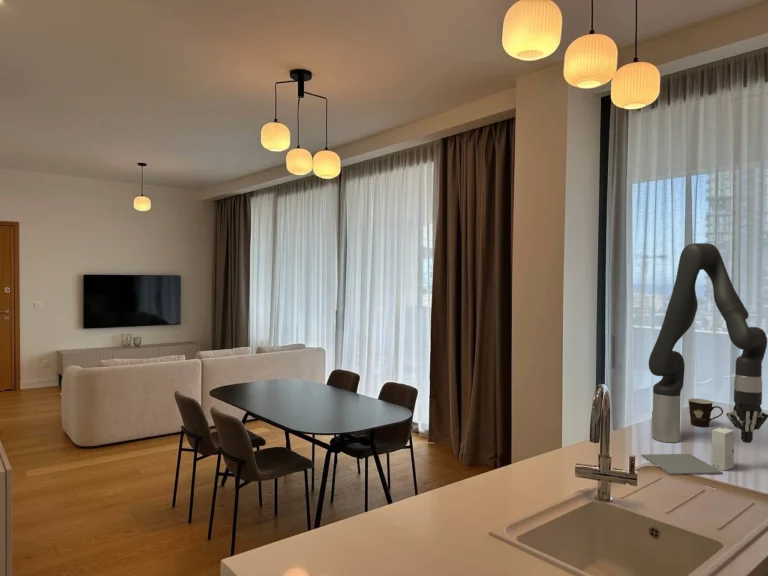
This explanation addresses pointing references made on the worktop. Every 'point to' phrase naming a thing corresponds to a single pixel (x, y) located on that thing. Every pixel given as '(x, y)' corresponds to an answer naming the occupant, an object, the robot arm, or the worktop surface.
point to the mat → (681, 464)
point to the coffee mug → (701, 412)
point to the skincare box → (723, 448)
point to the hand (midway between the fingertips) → (746, 442)
